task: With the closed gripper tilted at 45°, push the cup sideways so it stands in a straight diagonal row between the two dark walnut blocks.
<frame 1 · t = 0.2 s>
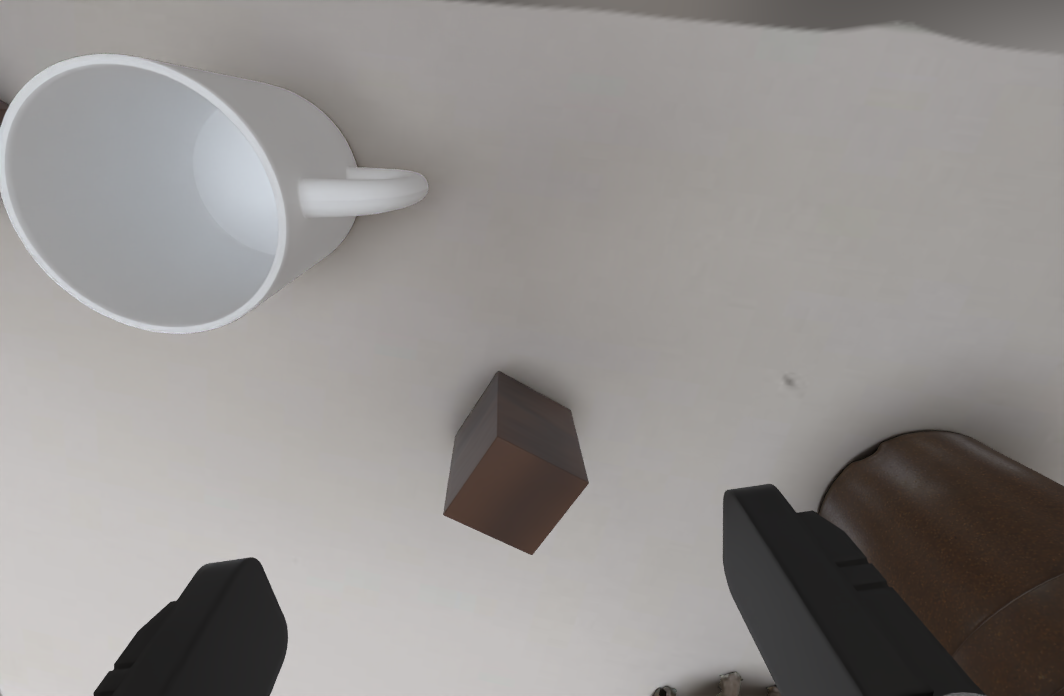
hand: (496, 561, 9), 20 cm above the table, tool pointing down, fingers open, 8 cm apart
cup: (317, 178, 26), on the table
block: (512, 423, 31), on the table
plant pot: (902, 502, 35), on the table
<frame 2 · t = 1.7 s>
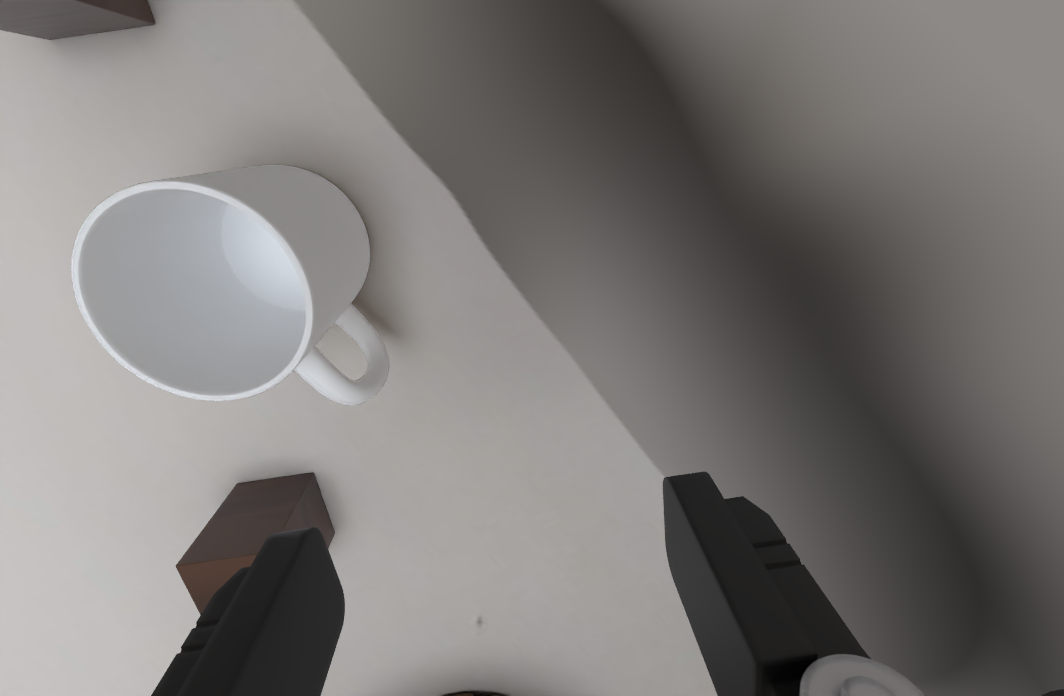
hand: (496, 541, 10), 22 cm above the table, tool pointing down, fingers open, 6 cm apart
cup: (323, 269, 29), on the table
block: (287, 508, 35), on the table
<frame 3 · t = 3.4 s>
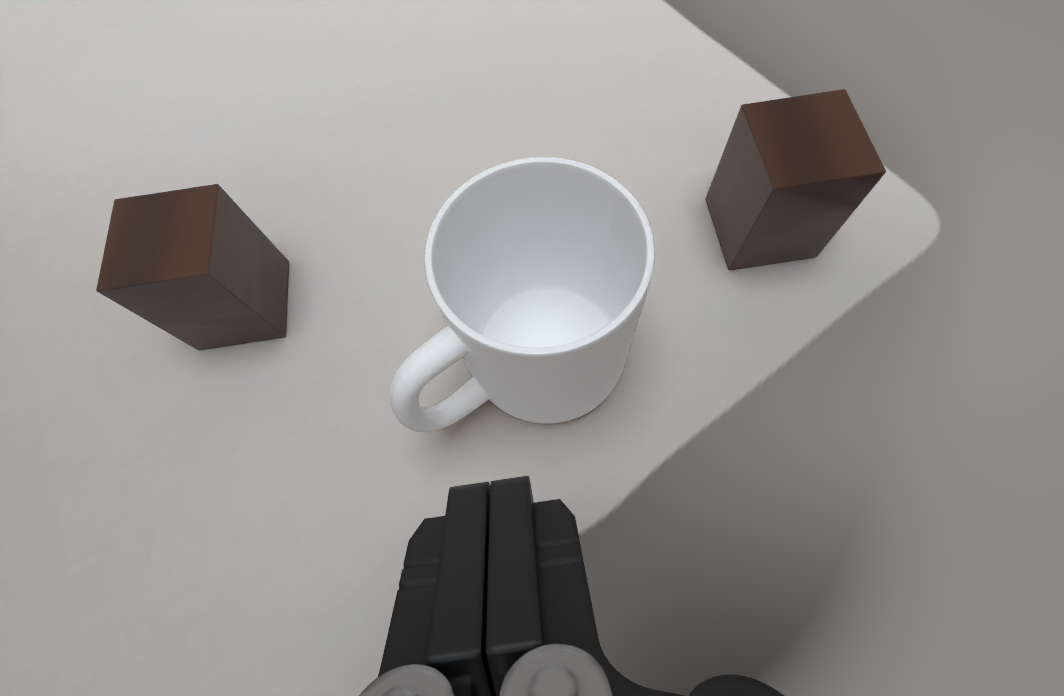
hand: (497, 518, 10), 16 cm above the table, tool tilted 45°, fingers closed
cup: (521, 374, 28), on the table
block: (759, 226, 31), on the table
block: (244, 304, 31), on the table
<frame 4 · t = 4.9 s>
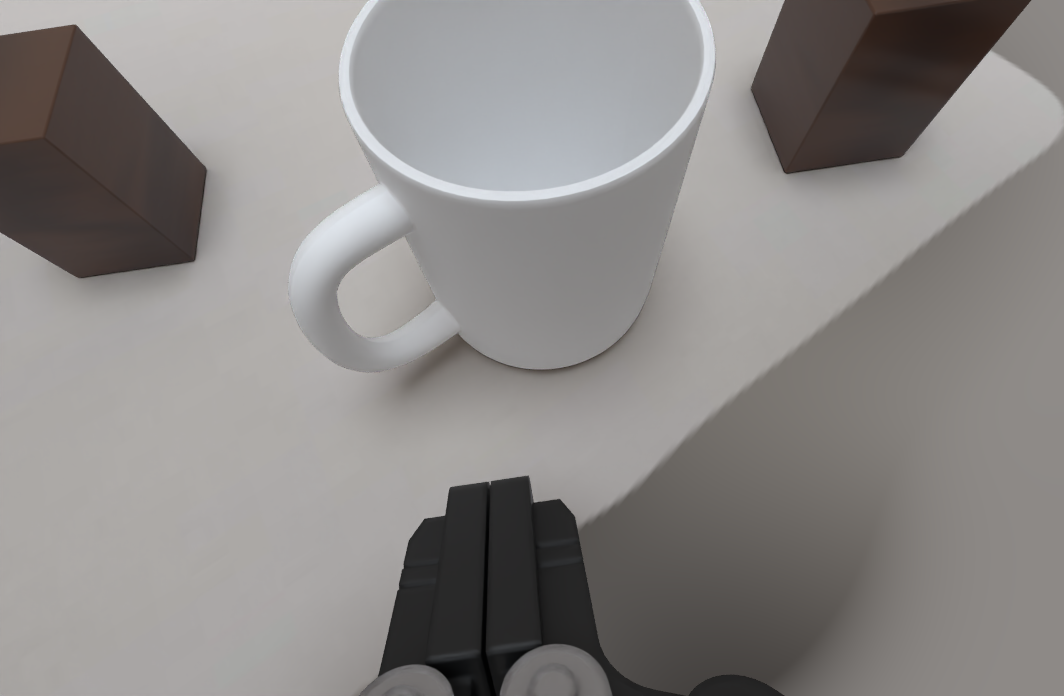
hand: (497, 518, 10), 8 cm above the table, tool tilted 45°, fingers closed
cup: (506, 307, 21), on the table
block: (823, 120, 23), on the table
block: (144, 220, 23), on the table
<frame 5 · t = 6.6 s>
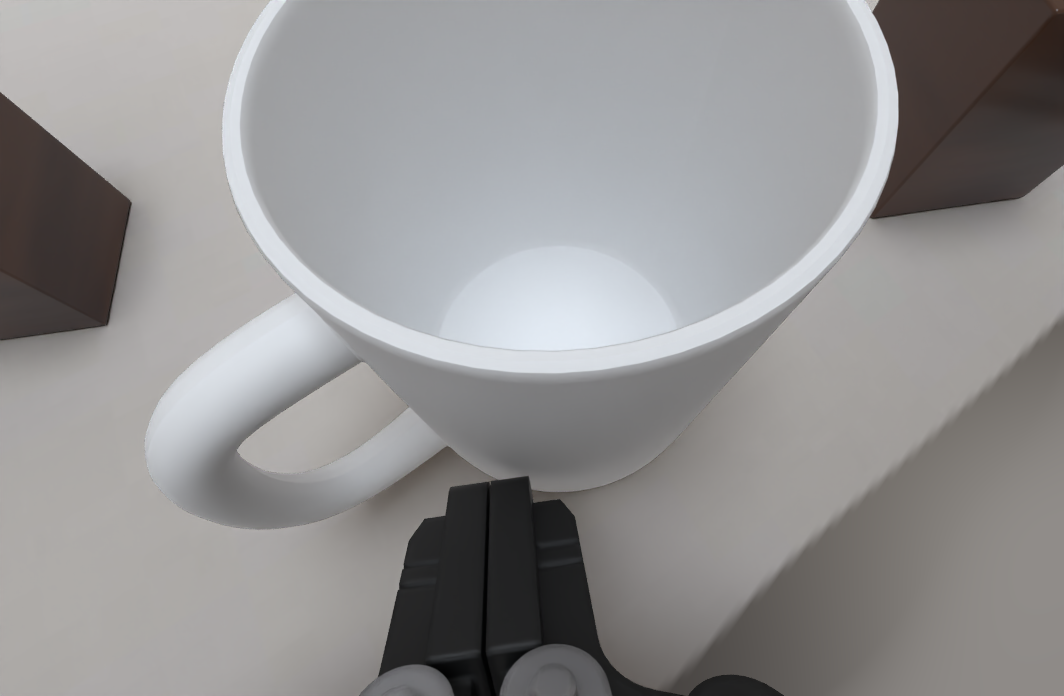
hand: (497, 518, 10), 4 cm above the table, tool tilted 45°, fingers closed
cup: (510, 395, 16), on the table, touching gripper
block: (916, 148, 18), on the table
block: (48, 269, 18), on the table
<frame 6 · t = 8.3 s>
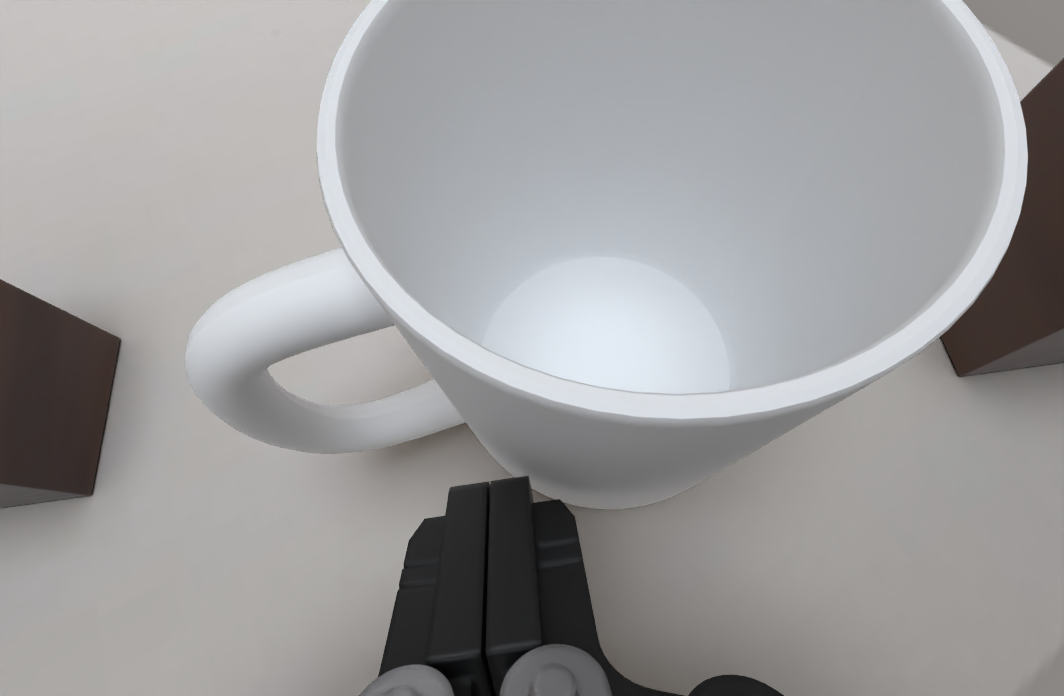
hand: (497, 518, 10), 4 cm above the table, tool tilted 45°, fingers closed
cup: (543, 393, 16), on the table, touching gripper
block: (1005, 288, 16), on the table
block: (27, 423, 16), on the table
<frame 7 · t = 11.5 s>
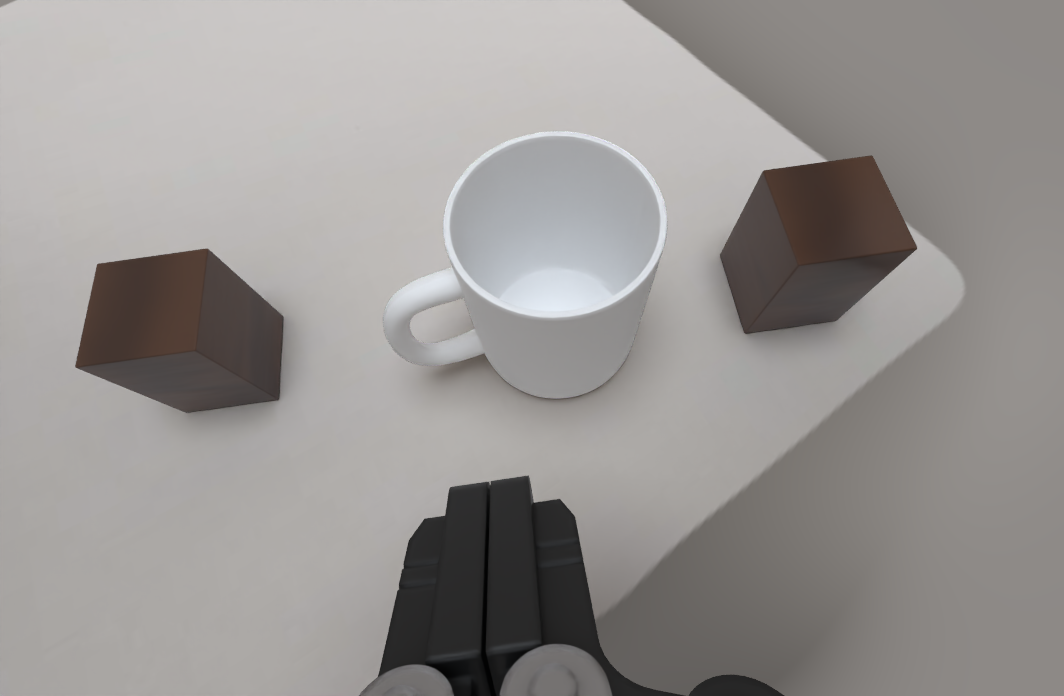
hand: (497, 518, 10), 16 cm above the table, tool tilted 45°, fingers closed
cup: (525, 343, 29), on the table
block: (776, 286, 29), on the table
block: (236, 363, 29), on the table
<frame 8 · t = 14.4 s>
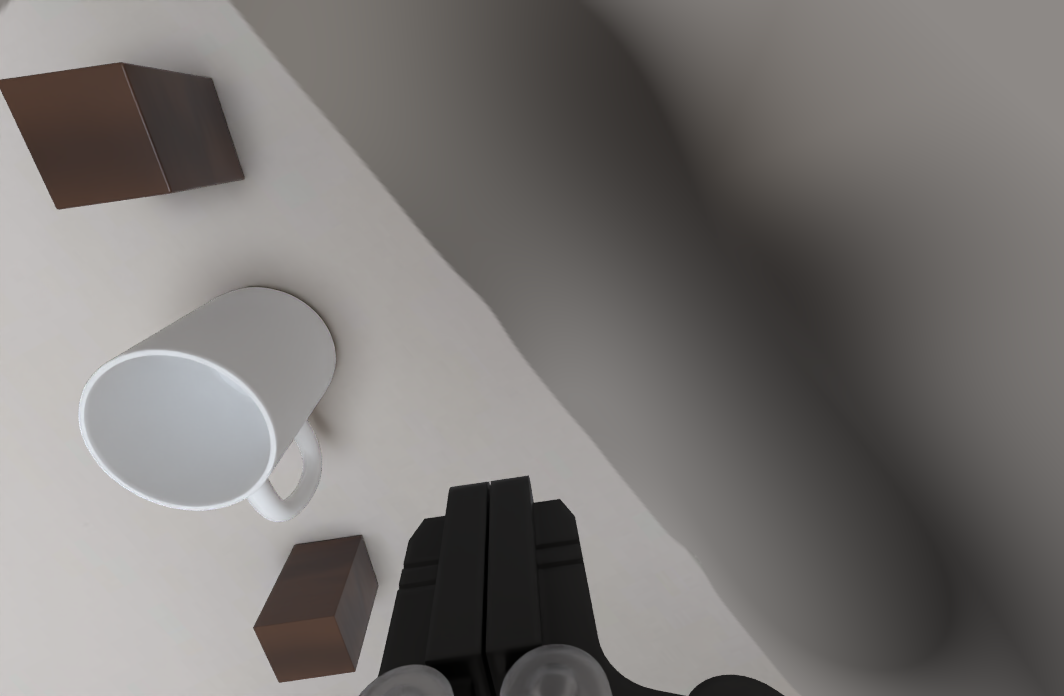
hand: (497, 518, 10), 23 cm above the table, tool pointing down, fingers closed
cup: (288, 372, 34), on the table
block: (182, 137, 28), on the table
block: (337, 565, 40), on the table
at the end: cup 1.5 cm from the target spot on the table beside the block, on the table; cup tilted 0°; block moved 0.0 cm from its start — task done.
